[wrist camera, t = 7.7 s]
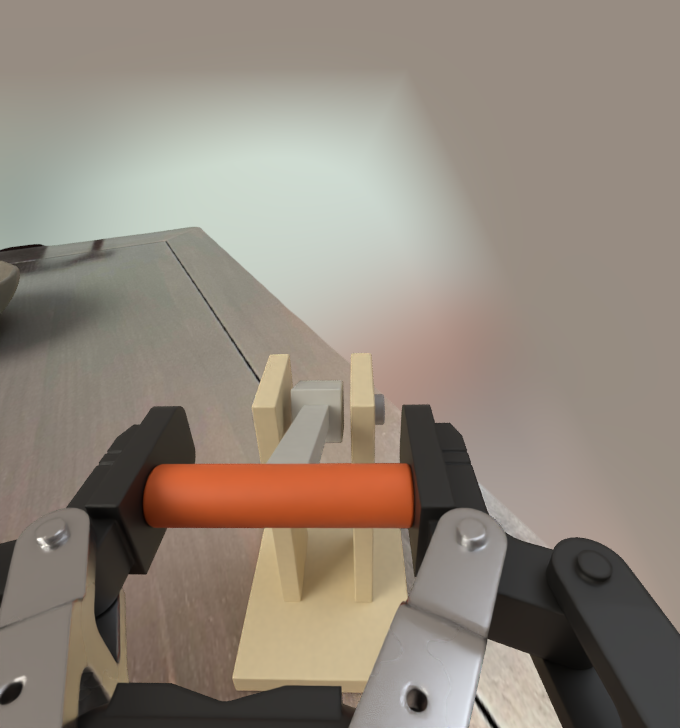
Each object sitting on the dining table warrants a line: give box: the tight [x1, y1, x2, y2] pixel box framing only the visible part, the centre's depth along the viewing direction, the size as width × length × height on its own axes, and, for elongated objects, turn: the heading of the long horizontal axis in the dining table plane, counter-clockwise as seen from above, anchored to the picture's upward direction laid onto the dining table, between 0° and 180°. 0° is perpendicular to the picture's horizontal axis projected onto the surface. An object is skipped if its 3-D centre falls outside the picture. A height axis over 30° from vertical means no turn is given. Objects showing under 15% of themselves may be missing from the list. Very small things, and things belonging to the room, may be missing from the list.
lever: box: [143, 380, 414, 528], centre depth 15 cm, size 12×6×2 cm, turn 178°
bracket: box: [232, 353, 408, 693], centre depth 23 cm, size 12×9×15 cm
